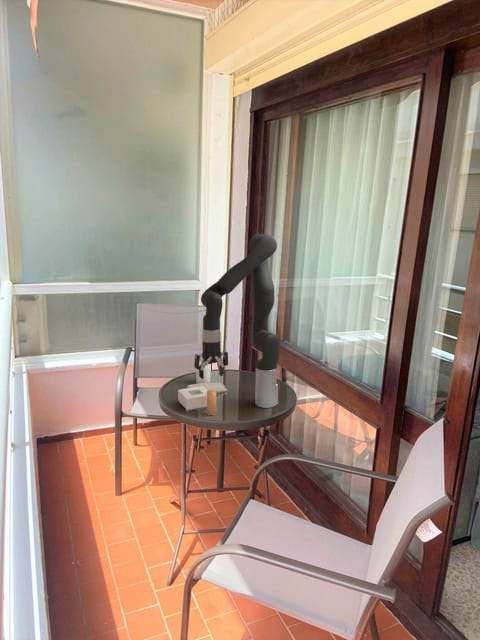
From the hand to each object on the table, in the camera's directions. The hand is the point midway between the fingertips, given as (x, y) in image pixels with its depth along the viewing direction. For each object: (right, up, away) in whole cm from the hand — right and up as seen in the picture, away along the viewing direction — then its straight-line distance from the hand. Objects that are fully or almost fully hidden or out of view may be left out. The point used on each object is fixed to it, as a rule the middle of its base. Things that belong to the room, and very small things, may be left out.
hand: (211, 376), depth 203 cm
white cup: (-7, -8, +41) cm, 42 cm away
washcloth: (-4, -11, +29) cm, 32 cm away
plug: (0, -16, +4) cm, 17 cm away
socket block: (-8, -14, +13) cm, 21 cm away
